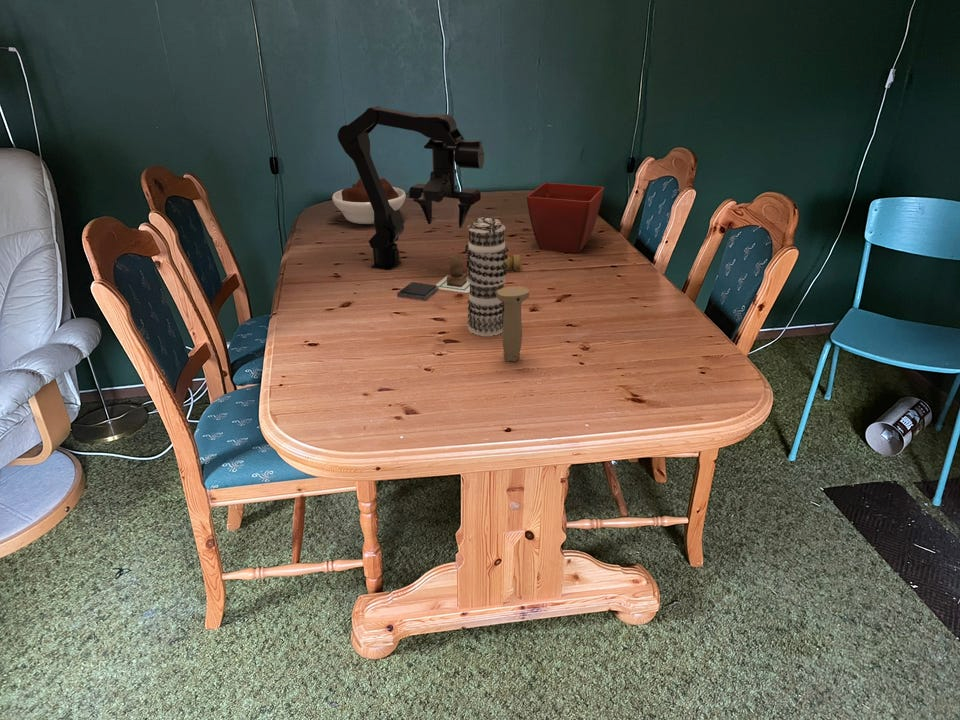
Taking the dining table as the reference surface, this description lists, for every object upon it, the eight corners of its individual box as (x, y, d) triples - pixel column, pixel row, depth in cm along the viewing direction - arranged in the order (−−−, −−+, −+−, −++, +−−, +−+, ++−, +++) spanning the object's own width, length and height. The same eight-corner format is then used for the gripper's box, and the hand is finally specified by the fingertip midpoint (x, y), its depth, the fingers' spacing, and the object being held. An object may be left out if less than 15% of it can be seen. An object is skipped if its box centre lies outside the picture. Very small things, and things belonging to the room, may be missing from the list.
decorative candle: (493, 340, 140) (494, 229, 129) (458, 331, 145) (456, 222, 133) (514, 325, 147) (516, 218, 135) (480, 317, 151) (479, 212, 140)
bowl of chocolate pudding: (319, 223, 222) (314, 179, 215) (370, 208, 240) (366, 167, 233) (372, 235, 209) (368, 189, 202) (421, 218, 227) (419, 175, 220)
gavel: (481, 239, 195) (514, 239, 195) (481, 254, 197) (514, 254, 197) (484, 257, 176) (520, 257, 176) (484, 274, 178) (520, 273, 178)
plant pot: (523, 251, 194) (525, 195, 187) (542, 233, 210) (544, 181, 202) (585, 258, 188) (590, 201, 180) (600, 240, 204) (604, 186, 196)
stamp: (447, 285, 169) (446, 258, 166) (452, 280, 172) (452, 253, 169) (461, 287, 168) (460, 260, 164) (466, 282, 171) (466, 255, 168)
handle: (492, 356, 134) (493, 289, 127) (520, 351, 136) (522, 284, 129) (502, 366, 130) (503, 298, 123) (530, 361, 132) (533, 293, 125)
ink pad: (397, 296, 163) (397, 291, 162) (411, 285, 170) (411, 281, 169) (426, 300, 160) (425, 295, 160) (439, 289, 167) (438, 284, 166)
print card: (432, 288, 168) (432, 287, 168) (447, 275, 176) (447, 274, 176) (467, 293, 165) (467, 292, 164) (481, 280, 173) (481, 279, 173)
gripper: (396, 169, 163) (400, 230, 170) (464, 175, 157) (465, 238, 164) (416, 161, 172) (419, 219, 179) (481, 167, 166) (481, 226, 173)
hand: (445, 225), depth 174 cm, fingers open, 9 cm apart
